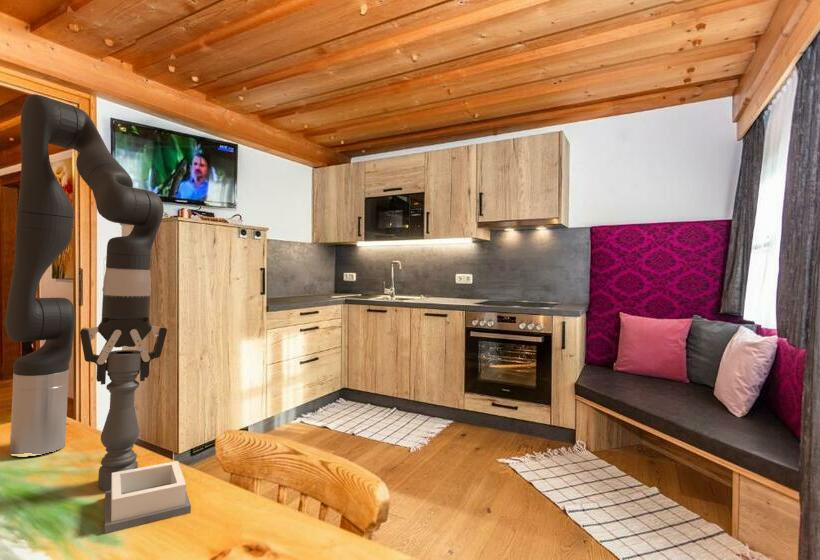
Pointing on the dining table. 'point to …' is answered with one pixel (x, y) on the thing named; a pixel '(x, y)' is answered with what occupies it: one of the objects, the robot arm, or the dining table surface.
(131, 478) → the socket dock
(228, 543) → the dining table surface
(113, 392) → the candle holder
